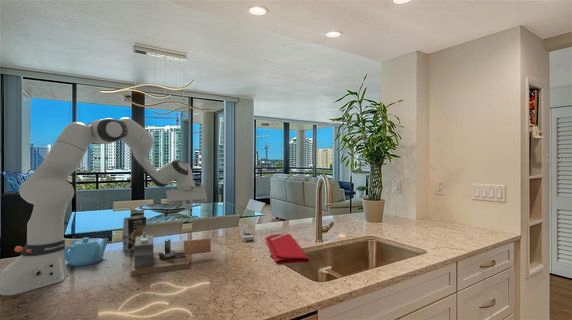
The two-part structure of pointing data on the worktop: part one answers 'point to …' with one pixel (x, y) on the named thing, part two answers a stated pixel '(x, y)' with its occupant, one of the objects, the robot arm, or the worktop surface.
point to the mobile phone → (245, 232)
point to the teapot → (85, 252)
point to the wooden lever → (187, 248)
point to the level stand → (153, 258)
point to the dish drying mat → (285, 249)
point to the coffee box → (133, 231)
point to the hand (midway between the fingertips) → (188, 209)
